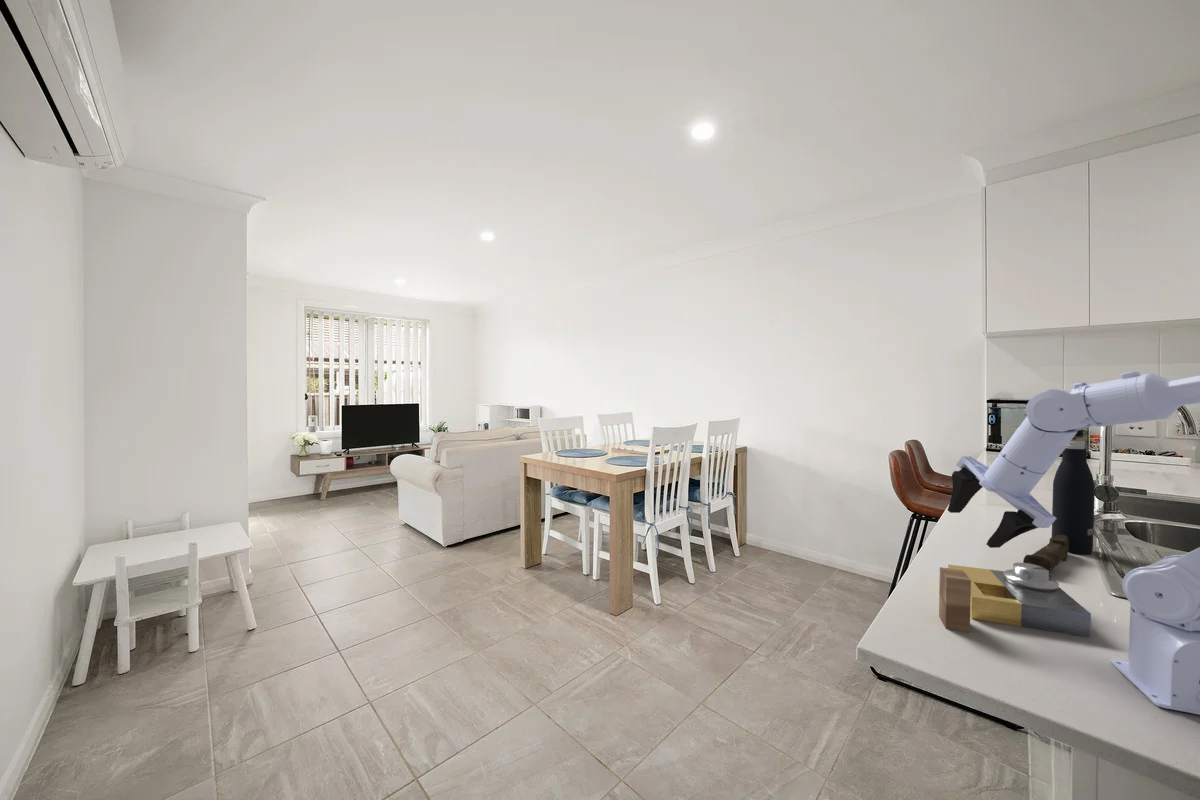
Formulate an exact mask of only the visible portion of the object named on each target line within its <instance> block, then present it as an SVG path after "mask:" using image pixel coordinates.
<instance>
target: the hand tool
mask: <svg viewBox="0 0 1200 800" xmlns="http://www.w3.org/2000/svg"><path fill="white" fill-rule="evenodd" d="M1068 551H1069V539H1068V537H1067V536H1065V535H1056V536H1054V537H1052V536H1051V537H1050V538H1049V542H1048V543H1047V545H1044V547H1041V548H1040V549H1038V550H1037V551H1035V552H1034V553H1031V554H1025V556H1024V558H1023V561H1022V563H1029V564H1034V565H1038V566H1041V567H1044V568H1046V569H1047V570H1048V571H1049V574H1050V572H1051V571H1052V569H1053V568H1054V567H1055V566H1058V564H1059V563H1060V562H1061V561H1062V562H1066V561H1067V559H1068V558H1069V557H1068V556H1069V553H1068Z"/></svg>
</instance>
